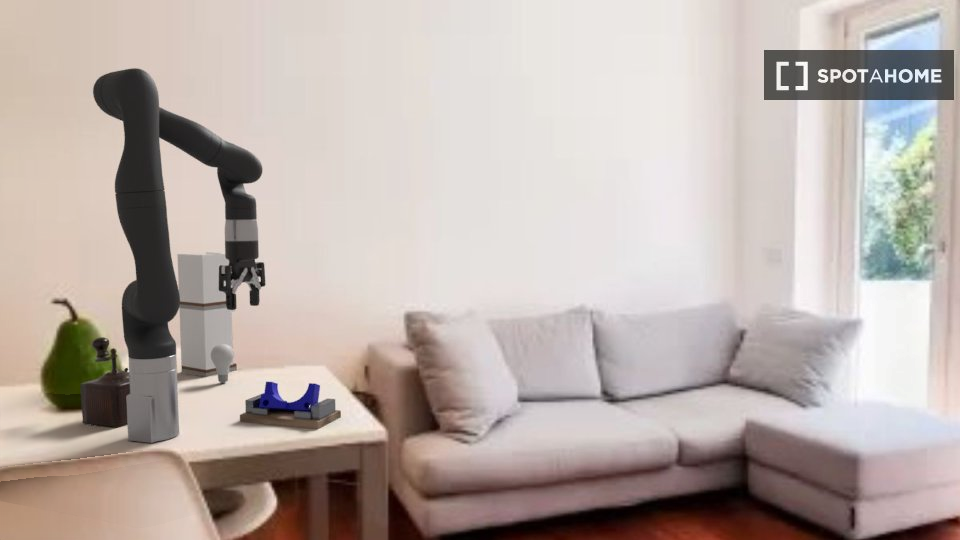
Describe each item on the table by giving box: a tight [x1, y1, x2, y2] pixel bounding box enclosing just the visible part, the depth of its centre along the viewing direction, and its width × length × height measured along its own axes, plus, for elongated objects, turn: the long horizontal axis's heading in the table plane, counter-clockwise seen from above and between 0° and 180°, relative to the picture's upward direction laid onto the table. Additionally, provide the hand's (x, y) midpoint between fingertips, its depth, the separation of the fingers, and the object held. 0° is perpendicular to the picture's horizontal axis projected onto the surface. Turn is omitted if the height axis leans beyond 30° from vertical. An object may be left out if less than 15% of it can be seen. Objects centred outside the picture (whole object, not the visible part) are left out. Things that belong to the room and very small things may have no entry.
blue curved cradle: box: [259, 381, 321, 411], centre depth 172 cm, size 12×4×6 cm, turn 79°
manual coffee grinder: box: [80, 336, 130, 429], centre depth 173 cm, size 16×11×18 cm
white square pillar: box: [176, 251, 238, 378], centre depth 223 cm, size 11×11×35 cm
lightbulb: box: [211, 344, 235, 384], centre depth 208 cm, size 6×6×11 cm
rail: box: [239, 392, 342, 430], centre depth 172 cm, size 10×20×4 cm, turn 72°
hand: (243, 307), depth 179 cm, fingers open, 8 cm apart
